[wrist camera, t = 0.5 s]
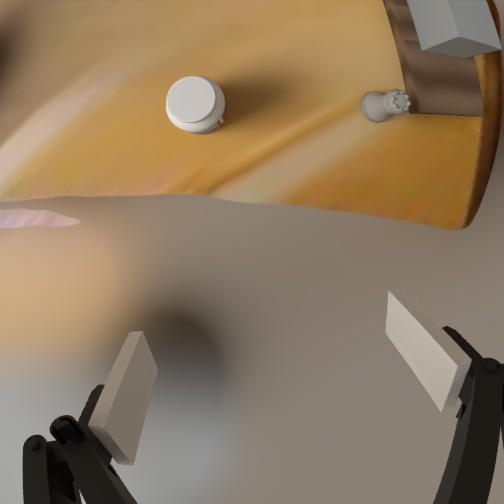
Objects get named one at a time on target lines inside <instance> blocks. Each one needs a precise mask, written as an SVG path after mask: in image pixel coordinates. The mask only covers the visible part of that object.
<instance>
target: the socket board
mask: <svg viewBox="0 0 504 504" xmlns="http://www.w3.org/2000/svg"><path fill="white" fill-rule="evenodd" d="M383 2H384V5H385V8H386V12H387V15H388V18H389V21H390V25H391V28H392V32H393V36H394V39H395V43H396V47H397V51H398V55H399V60H400V64H401V69H402V73H403V78H404V83H405V89H406V94H407V95H408V96H409V97H410V98H408V100H409V101H411V105H410V106H409V112H410V114H443V115H461V116H484V109H483V102H482V96H481V90H480V85H479V80H478V75H477V70H476V66H475V61H474V57H473V56H471V57H467V58H461V57H456V56H451V55H445V54H440V53H434V52H427V51H422V49H421V46H420V42H419V38H418V34H417V31H416V27H415V24H414V21H413V18H412V14H411V11H410V8H409V5H408V2H407V0H383Z"/></svg>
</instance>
